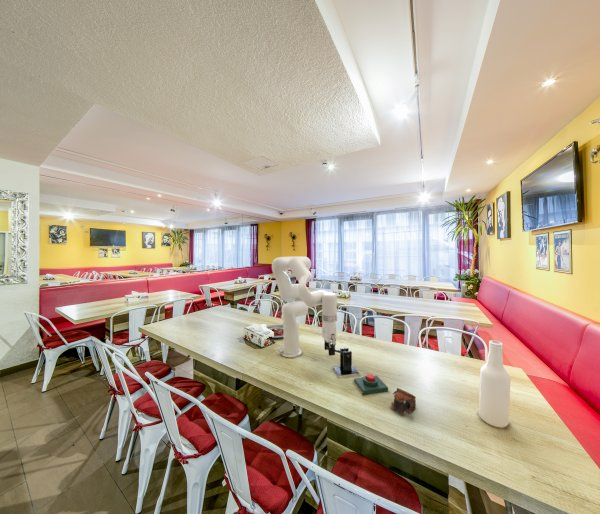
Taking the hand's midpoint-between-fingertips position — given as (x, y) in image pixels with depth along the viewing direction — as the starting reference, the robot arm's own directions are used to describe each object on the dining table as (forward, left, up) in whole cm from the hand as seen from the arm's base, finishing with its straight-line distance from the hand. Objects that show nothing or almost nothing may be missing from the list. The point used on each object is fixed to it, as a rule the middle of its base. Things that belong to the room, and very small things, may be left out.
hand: (329, 351), depth 123 cm
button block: (+15, -15, -12) cm, 24 cm away
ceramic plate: (-20, +63, -12) cm, 67 cm away
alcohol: (+50, -44, -12) cm, 68 cm away
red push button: (+15, -15, -8) cm, 23 cm away
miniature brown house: (+21, -32, -12) cm, 40 cm away
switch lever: (+4, 0, -1) cm, 4 cm away
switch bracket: (+9, 0, -12) cm, 15 cm away
